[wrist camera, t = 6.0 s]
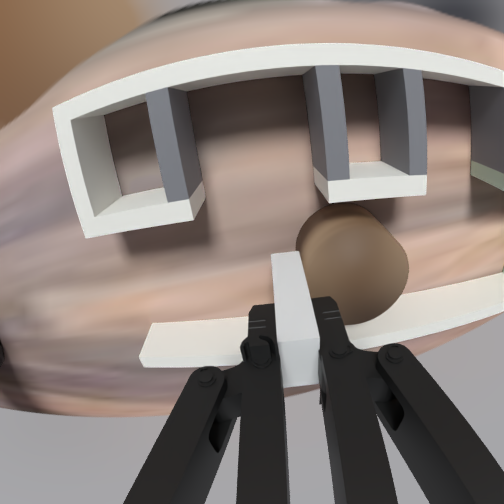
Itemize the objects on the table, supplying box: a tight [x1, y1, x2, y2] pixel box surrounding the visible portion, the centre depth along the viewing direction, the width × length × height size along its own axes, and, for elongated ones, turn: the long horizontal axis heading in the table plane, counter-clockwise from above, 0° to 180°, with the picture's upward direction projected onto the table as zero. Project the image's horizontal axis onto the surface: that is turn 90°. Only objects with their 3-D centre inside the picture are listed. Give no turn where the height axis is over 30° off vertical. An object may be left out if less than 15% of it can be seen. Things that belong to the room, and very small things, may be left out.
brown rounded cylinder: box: [296, 203, 409, 325], centre depth 16 cm, size 6×6×4 cm
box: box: [52, 43, 504, 367], centre depth 14 cm, size 30×16×4 cm, turn 98°
